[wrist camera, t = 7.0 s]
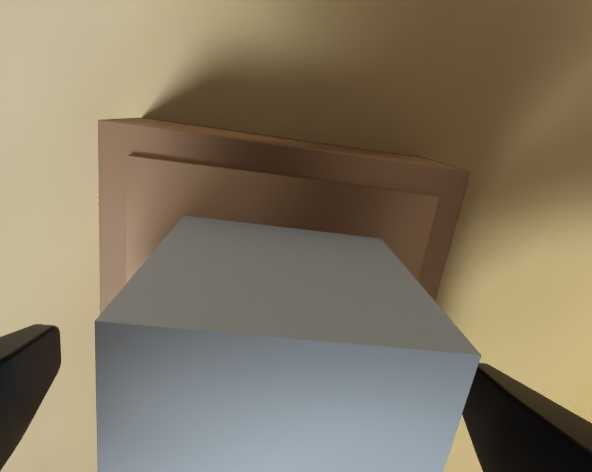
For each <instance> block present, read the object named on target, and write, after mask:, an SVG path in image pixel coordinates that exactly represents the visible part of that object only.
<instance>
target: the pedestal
mask: <svg viewBox="0 0 592 472" xmlns="http://www.w3.org/2000/svg"><path fill="white" fill-rule="evenodd" d="M98 159H99V247H100V314H101V313H102V312H103V311H104V310H105V308H106V307H107V306H108V305H109V304H110V302H111V301H112V300H113V299H114V298H115V297H116V295H117V294H118V293H119V292H120V291H121V289H122V288H123V287H124V286H125V285H126V283H127V282H128V281H129V280H130V279H131V278H132V276H133V275H134V274H135V273H136V272H137V270H138V269H139V268H140V267H141V266H142V264H143V263H144V262H145V261H146V260H147V259H148V257H149V256H150V255H151V254H152V253H153V251H154V250H155V249H156V248H157V247H158V245H159V244H160V243H161V242H162V241H163V240H164V238H165V237H166V236H167V235H168V234H169V232H170V231H171V230H172V229H173V228H174V226H175V225H176V224H177V223H178V222H179V221H180V219H181V218H182V217H183V216H192V217H201V218H209V219H218V220H226V221H235V222H243V223H252V224H261V225H269V226H278V227H286V228H295V229H303V230H312V231H320V232H329V233H337V234H346V235H355V236H363V237H372V238H380V239H382V240H383V241H384V243H385V244H386V245H387V246H388V247H389V248H390V249H391V251H392V252H393V253H394V254H395V255H396V256H397V258H398V259H399V260H400V261H401V262H402V263H403V265H404V266H405V267H406V268H407V269H408V270H409V272H410V273H411V274H412V275H413V276H414V277H415V279H416V280H417V281H418V282H419V283H420V284H421V286H422V287H423V288H424V289H425V290H426V291H427V293H428V294H429V295H430V296H431V297H432V298H433V300H434V301H435V298H436V294H437V291H438V287H439V284H440V280H441V276H442V273H443V269H444V265H445V262H446V258H447V255H448V251H449V247H450V244H451V240H452V237H453V233H454V229H455V226H456V222H457V218H458V215H459V211H460V208H461V204H462V200H463V197H464V193H465V190H466V186H467V182H468V179H469V175H470V172H468V171H465V170H462V169H458V168H455V167H452V166H449V165H445V164H442V163H439V162H436V161H432V160H429V159H426V158H420V157H413V156H406V155H399V154H392V153H385V152H378V151H370V150H363V149H356V148H349V147H342V146H335V145H328V144H321V143H314V142H307V141H300V140H293V139H286V138H279V137H272V136H265V135H258V134H251V133H244V132H237V131H230V130H223V129H216V128H209V127H202V126H195V125H188V124H181V123H174V122H167V121H160V120H153V119H146V118H126V119H107V120H98Z"/></svg>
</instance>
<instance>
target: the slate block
mask: <svg viewBox="0 0 592 472" xmlns="http://www.w3.org/2000/svg"><path fill="white" fill-rule="evenodd" d="M480 358H481V354H480V353H479V352H478V351H477V350H476V349H475V347H474V346H473V345H472V344H471V343H470V342H469V340H468V339H467V338H466V337H465V336H464V335H463V333H462V332H461V331H460V330H459V329H458V328H457V326H456V325H455V324H454V323H453V322H452V321H451V319H450V318H449V317H448V316H447V315H446V314H445V312H444V311H443V310H442V309H441V308H440V307H439V305H438V304H437V303H436V302H435V301H434V300H433V298H432V297H431V296H430V295H429V294H428V293H427V291H426V290H425V289H424V288H423V287H422V286H421V284H420V283H419V282H418V281H417V280H416V279H415V277H414V276H413V275H412V274H411V273H410V272H409V270H408V269H407V268H406V267H405V266H404V265H403V263H402V262H401V261H400V260H399V259H398V258H397V256H396V255H395V254H394V253H393V252H392V251H391V249H390V248H389V247H388V246H387V245H386V244H385V243H384V241H383V240H382V239H380V238H372V237H363V236H355V235H346V234H337V233H329V232H320V231H312V230H303V229H295V228H286V227H278V226H269V225H261V224H252V223H243V222H235V221H226V220H218V219H209V218H201V217H192V216H183V217H182V218H181V219H180V221H179V222H178V223H177V224H176V225H175V226H174V228H173V229H172V230H171V231H170V232H169V234H168V235H167V236H166V237H165V238H164V240H163V241H162V242H161V243H160V244H159V245H158V247H157V248H156V249H155V250H154V251H153V253H152V254H151V255H150V256H149V257H148V259H147V260H146V261H145V262H144V263H143V264H142V266H141V267H140V268H139V269H138V270H137V272H136V273H135V274H134V275H133V276H132V278H131V279H130V280H129V281H128V282H127V283H126V285H125V286H124V287H123V288H122V289H121V291H120V292H119V293H118V294H117V295H116V297H115V298H114V299H113V300H112V301H111V302H110V304H109V305H108V306H107V307H106V308H105V310H104V311H103V312H102V313H101V314H100V316H99V317H98V318H97V319H96V320H95V359H96V412H97V466H98V472H443V470H444V467H445V464H446V461H447V458H448V455H449V452H450V449H451V446H452V443H453V440H454V436H455V433H456V430H457V427H458V424H459V421H460V418H461V415H462V412H463V409H464V406H465V403H466V400H467V397H468V394H469V391H470V388H471V385H472V382H473V379H474V376H475V373H476V370H477V367H478V364H479V361H480Z"/></svg>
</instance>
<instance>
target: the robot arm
mask: <svg viewBox="0 0 592 472" xmlns="http://www.w3.org/2000/svg"><path fill="white" fill-rule="evenodd" d="M60 364H61V347H60V332H59V329H58V328H57V327H56V326H53V325H43V324H35V325H32V326H29V327H26V328H24V329H21V330H18V331H16V332H13V333H10V334H8V335H5V336H2V337H0V471H1V469H2V468H3V466H4V465H5V463H6V462H7V460H8V459H9V457H10V456H11V454H12V453H13V451H14V450H15V448H16V447H17V445H18V444H19V442H20V441H21V439H22V437H23V435H24V434H25V432H26V430H27V428H28V427H29V425H30V423H31V421H32V419H33V417H34V415H35V414H36V412H37V410H38V408H39V406H40V404H41V402H42V401H43V399H44V397H45V395H46V393H47V391H48V390H49V388H50V386H51V384H52V382H53V380H54V378H55V377H56V375H57V373H58V371H59V368H60ZM462 415H463V418H464V421H465V423H466V426H467V429H468V432H469V435H470V438H471V440H472V443H473V446H474V449H475V452H476V454H477V457H478V460H479V462H480V465H481V467H482V470H483V472H592V423H590V422H588V421H587V420H585V419H583V418H581V417H580V416H578V415H576V414H574V413H573V412H571V411H569V410H567V409H565V408H564V407H562V406H560V405H558V404H557V403H555V402H553V401H551V400H550V399H548V398H546V397H544V396H543V395H541V394H539V393H537V392H536V391H534V390H532V389H530V388H529V387H527V386H525V385H523V384H522V383H520V382H518V381H516V380H515V379H513V378H511V377H509V376H508V375H506V374H504V373H502V372H501V371H499V370H497V369H495V368H494V367H492V366H490V365H488V364H485V363H479V364H478V367H477V370H476V373H475V376H474V379H473V382H472V385H471V388H470V391H469V394H468V397H467V400H466V403H465V406H464V409H463V412H462Z"/></svg>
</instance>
